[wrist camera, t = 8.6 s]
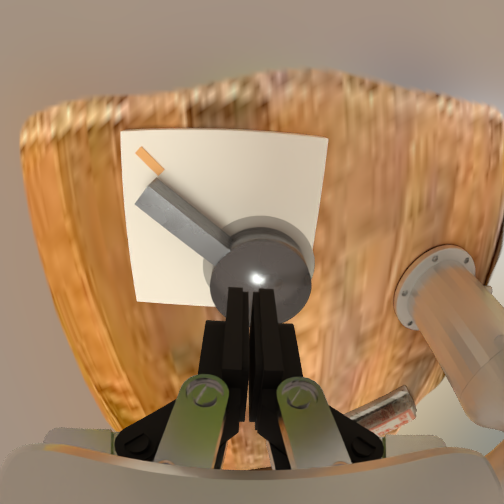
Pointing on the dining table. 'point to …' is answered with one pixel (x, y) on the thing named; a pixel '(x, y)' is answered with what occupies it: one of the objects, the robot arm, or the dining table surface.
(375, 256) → the dining table surface
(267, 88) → the dining table surface
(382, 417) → the packaged product
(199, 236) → the dial
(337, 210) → the dining table surface
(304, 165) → the dial base
